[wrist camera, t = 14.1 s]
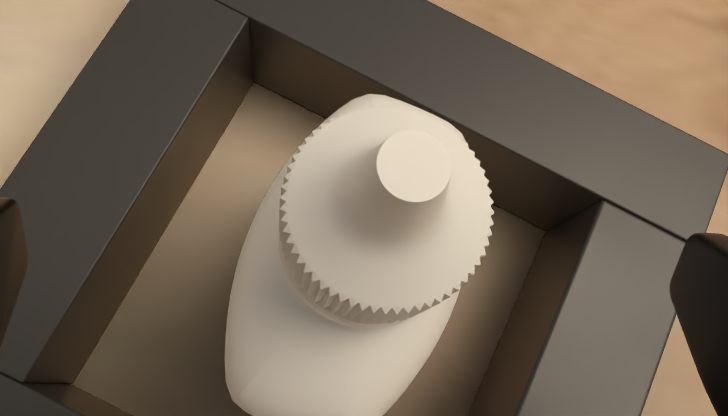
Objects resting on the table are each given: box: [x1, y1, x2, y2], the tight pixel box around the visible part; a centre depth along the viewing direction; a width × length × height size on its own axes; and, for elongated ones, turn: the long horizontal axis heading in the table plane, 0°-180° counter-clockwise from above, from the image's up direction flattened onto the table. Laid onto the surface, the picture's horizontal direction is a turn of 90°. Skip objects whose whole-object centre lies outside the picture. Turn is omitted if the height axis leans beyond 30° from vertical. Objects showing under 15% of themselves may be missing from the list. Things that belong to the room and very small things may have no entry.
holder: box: [0, 0, 728, 416], centre depth 16 cm, size 14×14×4 cm
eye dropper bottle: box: [225, 94, 494, 416], centre depth 12 cm, size 4×6×12 cm
